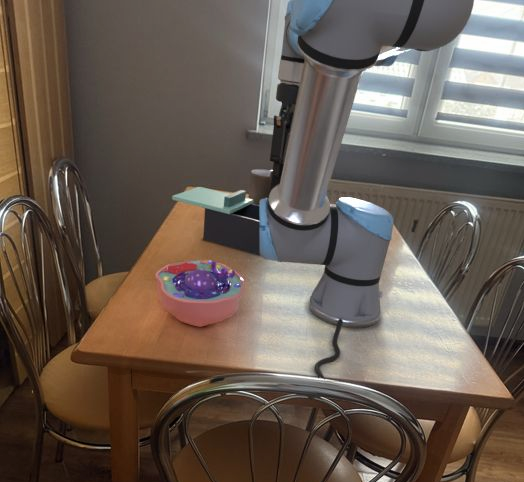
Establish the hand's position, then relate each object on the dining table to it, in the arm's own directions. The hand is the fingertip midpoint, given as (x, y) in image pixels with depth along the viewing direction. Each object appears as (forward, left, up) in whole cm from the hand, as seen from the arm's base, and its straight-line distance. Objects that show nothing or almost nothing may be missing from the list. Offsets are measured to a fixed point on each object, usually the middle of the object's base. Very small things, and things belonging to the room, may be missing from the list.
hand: (280, 187), depth 127 cm
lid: (+3, +20, -8) cm, 22 cm away
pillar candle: (+28, +16, -17) cm, 37 cm away
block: (0, 0, 0) cm, 0 cm away
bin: (+3, +11, -17) cm, 20 cm away
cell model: (-43, -2, -17) cm, 46 cm away
